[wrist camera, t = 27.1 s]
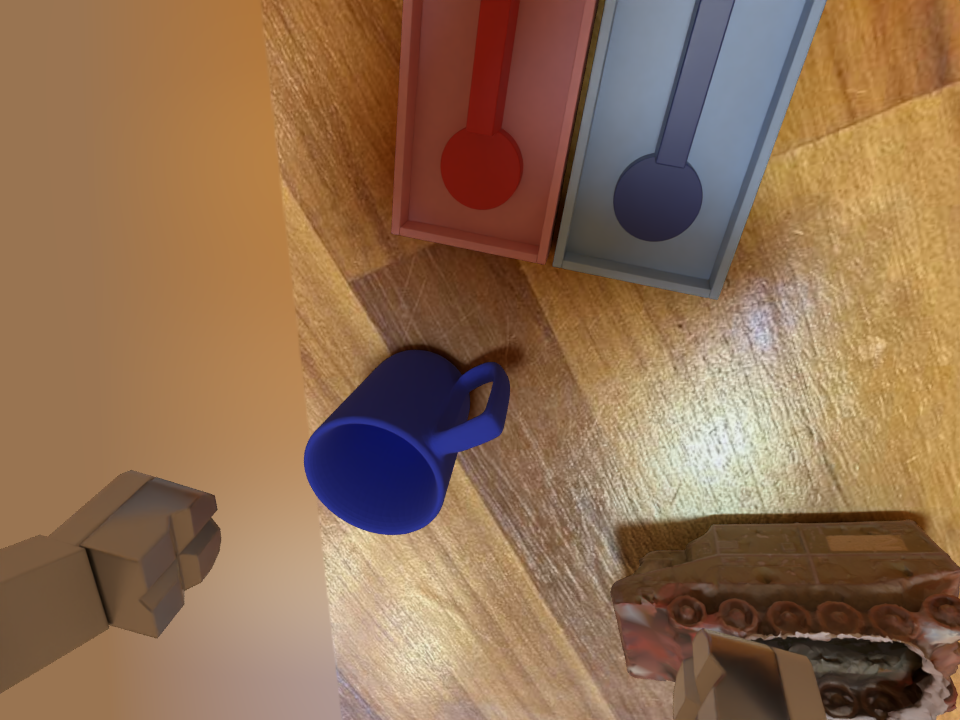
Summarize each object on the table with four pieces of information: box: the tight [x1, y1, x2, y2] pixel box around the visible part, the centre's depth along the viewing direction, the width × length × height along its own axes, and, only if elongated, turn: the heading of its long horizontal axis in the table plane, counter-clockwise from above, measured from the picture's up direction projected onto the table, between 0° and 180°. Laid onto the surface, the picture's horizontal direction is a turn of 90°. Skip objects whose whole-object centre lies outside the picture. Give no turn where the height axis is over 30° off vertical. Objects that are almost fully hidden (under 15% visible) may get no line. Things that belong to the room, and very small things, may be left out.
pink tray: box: [391, 0, 599, 265], centre depth 30 cm, size 9×18×2 cm, turn 173°
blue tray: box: [553, 0, 827, 300], centre depth 29 cm, size 9×18×2 cm, turn 173°
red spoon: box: [440, 0, 523, 210], centre depth 30 cm, size 13×4×2 cm, turn 172°
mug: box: [304, 350, 510, 535], centre depth 37 cm, size 8×12×10 cm
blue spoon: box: [613, 0, 735, 242], centre depth 28 cm, size 13×4×2 cm, turn 172°
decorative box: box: [610, 519, 960, 720], centre depth 39 cm, size 13×20×10 cm, turn 97°
